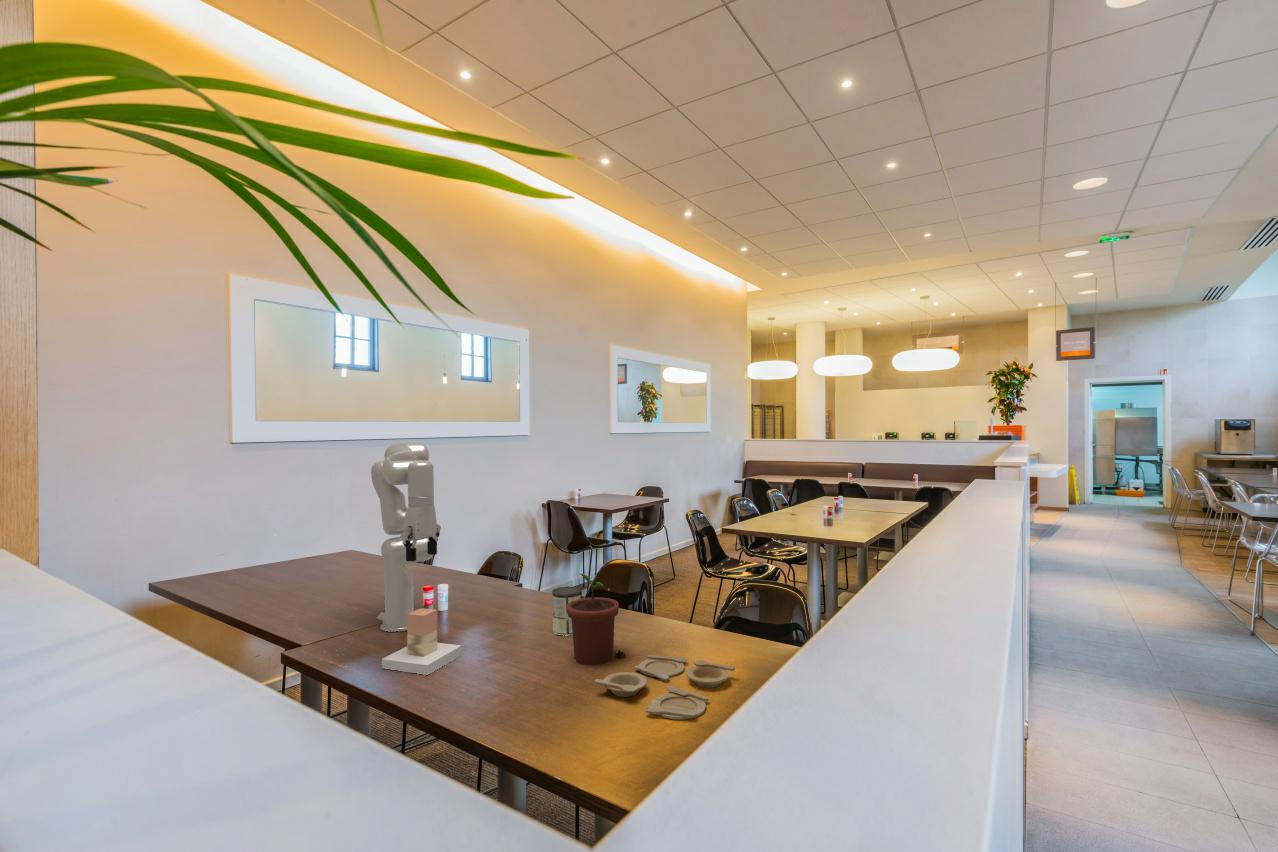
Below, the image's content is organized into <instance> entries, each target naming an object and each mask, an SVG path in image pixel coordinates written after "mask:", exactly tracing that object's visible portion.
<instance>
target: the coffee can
mask: <svg viewBox="0 0 1278 852" xmlns="http://www.w3.org/2000/svg"><path fill="white" fill-rule="evenodd" d="M551 596H552V600H551V601H552V634H553V633H555V634H558V635H563V636H562V637H573V636H572V635H573V633H572V620H571V618H570V617H568V613H567V604H568V603H570V602H572V601H574V600H578V599H583V589H582V588H581V587H578V586H560V587H556V588H554V589H552V590H551ZM555 634H554V635H555ZM564 635H565V636H564ZM569 635H571V636H569Z"/></svg>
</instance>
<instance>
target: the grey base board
mask: <svg viewBox="0 0 1278 852" xmlns="http://www.w3.org/2000/svg"><path fill="white" fill-rule="evenodd" d="M462 647H463V645H461V644H460V645H459V644H452V643H443V642H437V650H436V651H434V652H432V653H430V654H429V655H427V656H425V657H422V656H414V655H408V649H407V646H404V647H402V648H401V649H398V650H397V651H395V652H392V653H391V654H389V655H387V656H385V657H383V658H381V669H382V668H385V669H391V670H398V671H404V672H412V673H417V674H416V675H419V674H423V675H422V676H426V675H428V674H430V673H431V674H433V673H435V672H436V671H438V670H439V668H440V669H441V668H443V667H445V666H446V665H448V664H450V663H451V662H453V661H455V660H456V659H458V658H460V657H461V656H462V653H463V651H462V650H463V649H462ZM449 662H450V663H449ZM444 665H445V666H444ZM442 666H443V667H442ZM437 669H438V670H437ZM435 670H436V671H435ZM434 671H435V672H434ZM404 672H403V673H404ZM432 672H433V673H432ZM431 674H430V675H431ZM428 676H429V675H428Z"/></svg>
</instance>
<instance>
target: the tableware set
mask: <svg viewBox="0 0 1278 852" xmlns="http://www.w3.org/2000/svg"><path fill="white" fill-rule="evenodd" d="M646 658H647V659H645V660H643V661H641V662H640V663H639V664H638V665H635V666H634V669H635V670H636V671H639V672H640V673H641V674H640V673H636V672H627V671H626V672H625V671H623V672H622V671H621V672H615V673H611V674H609V675H607V676H605V677H604V678H603V679H598V678H596V679H594V684H596V685H600V686H603V687H605V688H606V689H608V690H610V691H611V693H612V694H613V695H614V694H615V695H614V696H616V695H617V697H620V696H629V697H632V696H631V695H633V696H635V695H637V694H636V693H638V692H639V690H642V689H643V688H645V686H646V685H647V680H648V679H647V678H646V677H645V676H649V677H653V678H658V679H660V680H663V681H666V682H667V681H669V679H670V678H672V677H675V676H678V675H680V674H682V673H683V672H684V671H685V665H684V663H686V662H687V661H688V660H689V658H688V657H682V656H677V657H676V656H675V657H673V656H672V657H669V656H664V655H663V656H662V655H655V654H648V655H646ZM693 664H694V665H693V666H691V667H689V668H688V669H687V670H686V673H685V675H686V678H688V679H689V680H690V681H692V682H694V684H695V685H696V686H698V687H700V688H705V689H706V688H707V689H713V688H716V687H719V686H721V683H723V682H725V681H727V680H728V679H729V677H730V673H729V671H731V672H732V671H735V670H736V666H733V665H727V664H720V663H719V664H718V663H711V662H708V661H707V660H704V659H696V660H693ZM642 674H644V675H645V676H644V675H642ZM666 691H668V692H669V693H665V694H661V695H658V696H657V697H655V698H654V699H653V700H652V701H651V702H650V703H651V704H649V705H647V707H646V709H645V710H644V712H645V713H648V714H653V715H657V716H660V717H663V718H666V719H671V720H678V721H679V720H681V721H682V720H690V719H694V718H697V716H698V717H700V716H701V715H703V714H704V713H705V712H706V708H707V705H706V702H708V701H709V697H708V696H706V695H702V694H699V693H696V692H692V691H690V690H686V689H683V688H679V687H676V686H673V685H669V686H667V688H666ZM634 694H635V695H634ZM699 715H700V716H699Z"/></svg>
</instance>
